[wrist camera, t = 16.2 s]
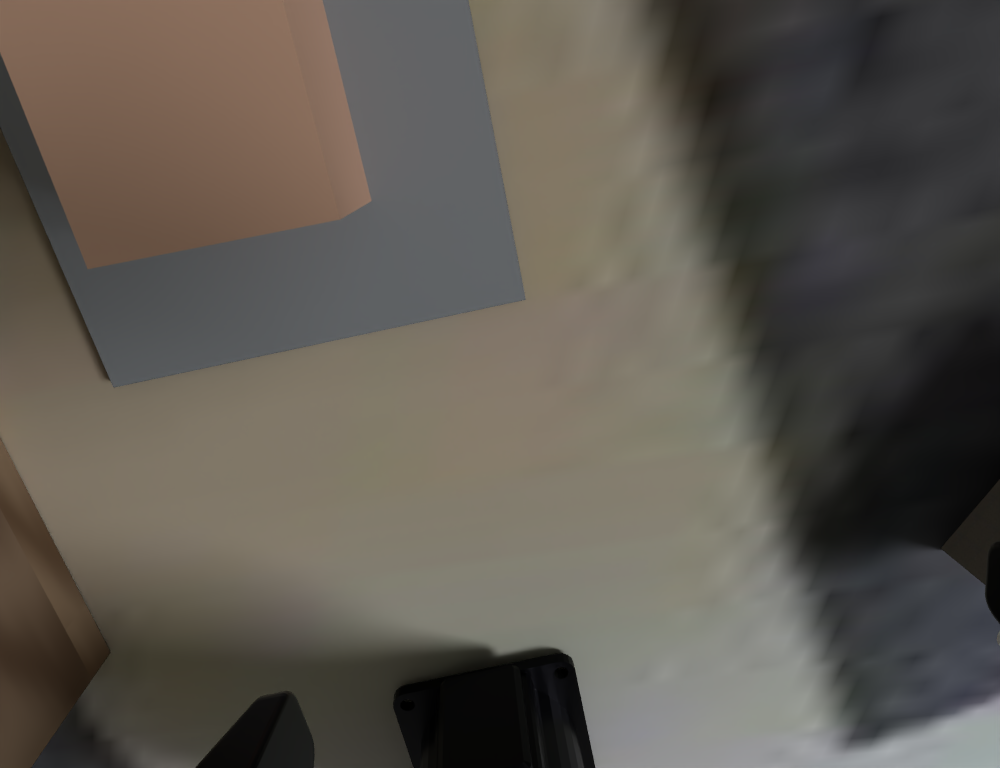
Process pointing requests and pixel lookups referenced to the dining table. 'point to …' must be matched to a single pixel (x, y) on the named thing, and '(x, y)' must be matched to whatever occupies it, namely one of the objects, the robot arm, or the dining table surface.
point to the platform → (977, 536)
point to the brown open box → (37, 629)
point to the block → (184, 119)
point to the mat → (326, 246)
